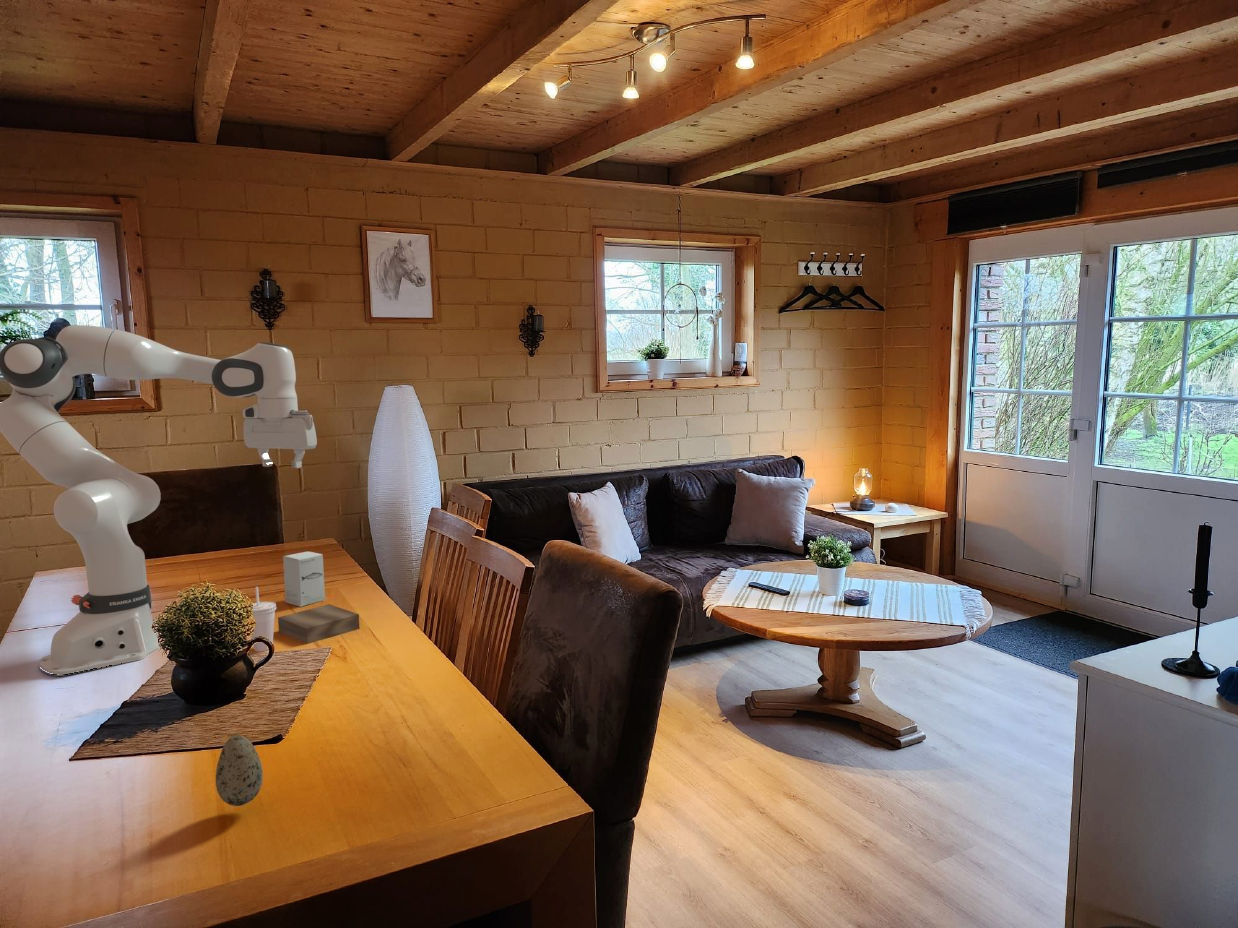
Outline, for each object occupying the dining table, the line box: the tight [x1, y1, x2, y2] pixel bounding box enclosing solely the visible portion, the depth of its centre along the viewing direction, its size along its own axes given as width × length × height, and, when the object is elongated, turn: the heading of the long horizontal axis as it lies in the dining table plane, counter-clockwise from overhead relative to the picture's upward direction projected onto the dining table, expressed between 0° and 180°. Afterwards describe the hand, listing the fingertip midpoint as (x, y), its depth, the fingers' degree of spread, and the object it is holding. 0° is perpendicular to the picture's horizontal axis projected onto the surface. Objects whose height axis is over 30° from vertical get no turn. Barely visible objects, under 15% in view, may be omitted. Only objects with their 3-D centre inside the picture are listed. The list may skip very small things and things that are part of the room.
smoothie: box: [250, 586, 277, 653], centre depth 175 cm, size 6×6×14 cm
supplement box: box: [282, 551, 326, 608], centre depth 210 cm, size 7×7×13 cm
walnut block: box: [277, 604, 361, 645], centre depth 187 cm, size 13×13×4 cm
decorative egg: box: [215, 734, 264, 807], centre depth 112 cm, size 6×6×10 cm
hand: (282, 467), depth 196 cm, fingers open, 8 cm apart
